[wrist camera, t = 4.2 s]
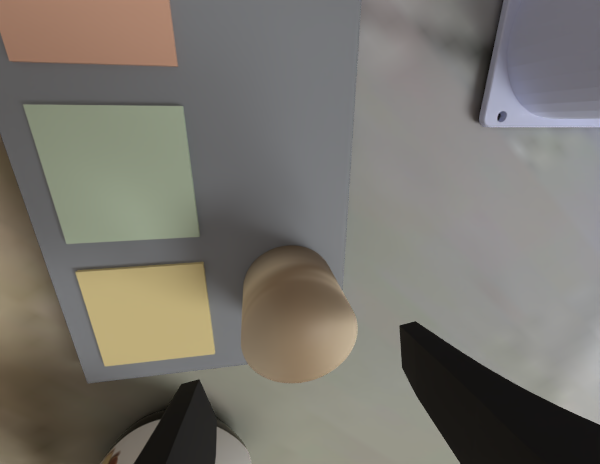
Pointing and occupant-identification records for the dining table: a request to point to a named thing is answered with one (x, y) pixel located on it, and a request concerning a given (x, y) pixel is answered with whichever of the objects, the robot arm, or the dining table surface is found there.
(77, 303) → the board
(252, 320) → the disc
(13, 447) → the dining table surface
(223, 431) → the spread jar
